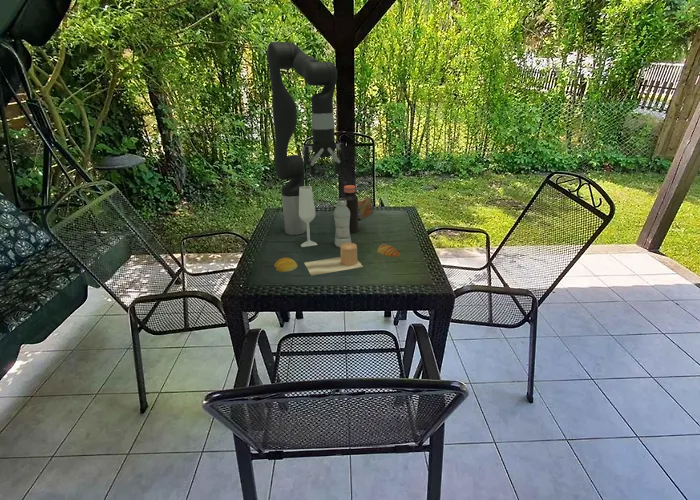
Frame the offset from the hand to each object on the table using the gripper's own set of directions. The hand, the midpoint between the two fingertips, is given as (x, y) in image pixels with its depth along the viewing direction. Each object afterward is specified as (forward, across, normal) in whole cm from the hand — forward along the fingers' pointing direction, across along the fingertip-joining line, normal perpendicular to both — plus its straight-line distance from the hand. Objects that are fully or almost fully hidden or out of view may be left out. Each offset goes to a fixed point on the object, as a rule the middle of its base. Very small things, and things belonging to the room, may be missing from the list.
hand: (325, 174), depth 149 cm
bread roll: (+33, +17, +4) cm, 37 cm away
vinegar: (+32, -17, -24) cm, 44 cm away
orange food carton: (+32, -29, -40) cm, 59 cm away
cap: (+31, -5, +10) cm, 32 cm away
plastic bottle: (+32, -8, -7) cm, 34 cm away
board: (+32, +1, +10) cm, 33 cm away
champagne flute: (+32, +4, -15) cm, 36 cm away
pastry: (+33, -22, +6) cm, 40 cm away
